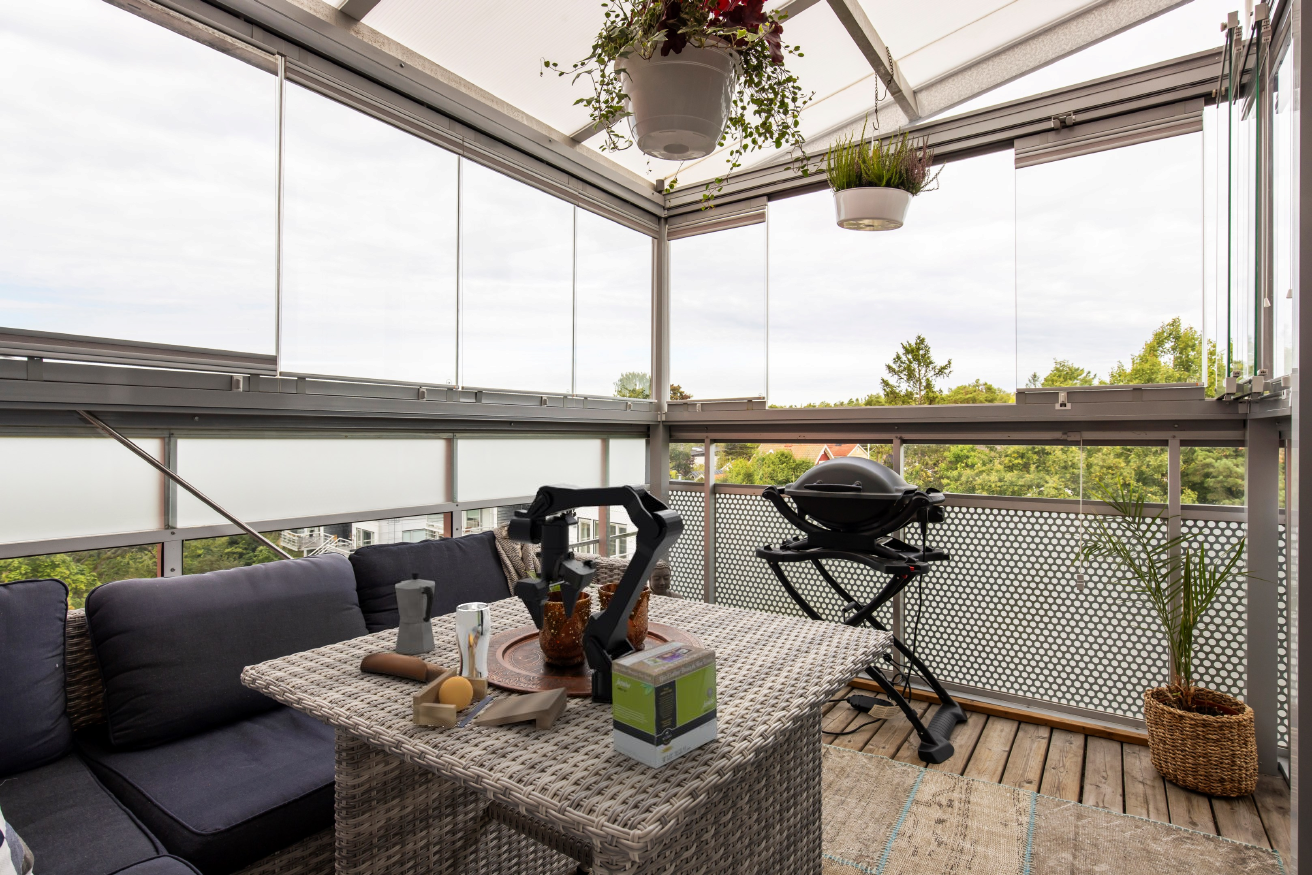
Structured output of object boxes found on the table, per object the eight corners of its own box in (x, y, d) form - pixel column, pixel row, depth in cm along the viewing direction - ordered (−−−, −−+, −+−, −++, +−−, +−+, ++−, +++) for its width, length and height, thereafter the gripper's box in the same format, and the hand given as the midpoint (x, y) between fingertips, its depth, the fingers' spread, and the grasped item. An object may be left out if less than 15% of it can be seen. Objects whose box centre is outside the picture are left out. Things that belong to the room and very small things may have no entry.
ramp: (567, 711, 128) (567, 687, 128) (549, 735, 118) (549, 708, 118) (495, 706, 130) (495, 682, 130) (473, 729, 120) (473, 703, 120)
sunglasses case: (454, 670, 146) (443, 648, 143) (434, 697, 141) (422, 675, 137) (388, 659, 153) (376, 638, 150) (367, 685, 148) (355, 663, 144)
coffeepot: (384, 646, 163) (384, 569, 163) (422, 637, 169) (422, 564, 169) (411, 662, 152) (411, 580, 151) (451, 653, 158) (451, 574, 158)
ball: (446, 699, 129) (450, 668, 129) (476, 706, 128) (480, 675, 128) (430, 712, 124) (434, 680, 123) (461, 720, 123) (466, 687, 122)
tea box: (673, 721, 121) (674, 637, 121) (718, 739, 114) (718, 650, 114) (610, 750, 111) (610, 658, 110) (655, 771, 104) (656, 673, 103)
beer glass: (481, 687, 137) (481, 611, 137) (449, 684, 139) (448, 609, 138) (496, 674, 144) (496, 603, 144) (465, 672, 145) (465, 601, 145)
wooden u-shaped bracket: (494, 696, 132) (494, 670, 132) (460, 728, 118) (460, 699, 118) (451, 693, 134) (451, 667, 134) (412, 724, 120) (412, 696, 120)
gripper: (556, 557, 127) (556, 642, 127) (614, 543, 143) (613, 618, 143) (511, 552, 133) (511, 633, 133) (571, 539, 149) (571, 611, 149)
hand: (554, 623), depth 139 cm, fingers open, 9 cm apart
